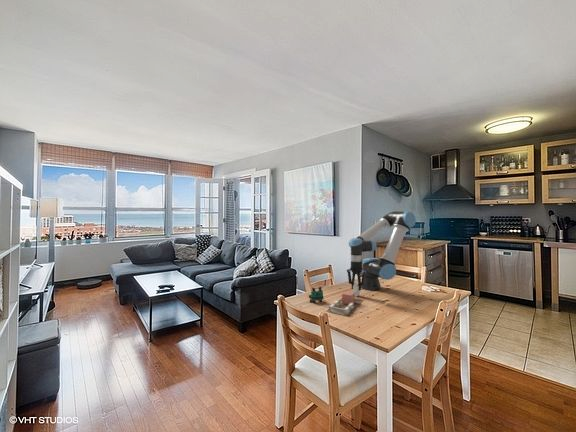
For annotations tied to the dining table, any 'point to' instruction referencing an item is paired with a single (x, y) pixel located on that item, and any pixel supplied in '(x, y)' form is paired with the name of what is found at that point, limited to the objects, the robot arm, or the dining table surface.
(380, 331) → the dining table surface
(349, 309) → the lane shelf
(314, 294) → the green toy creature
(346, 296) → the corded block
